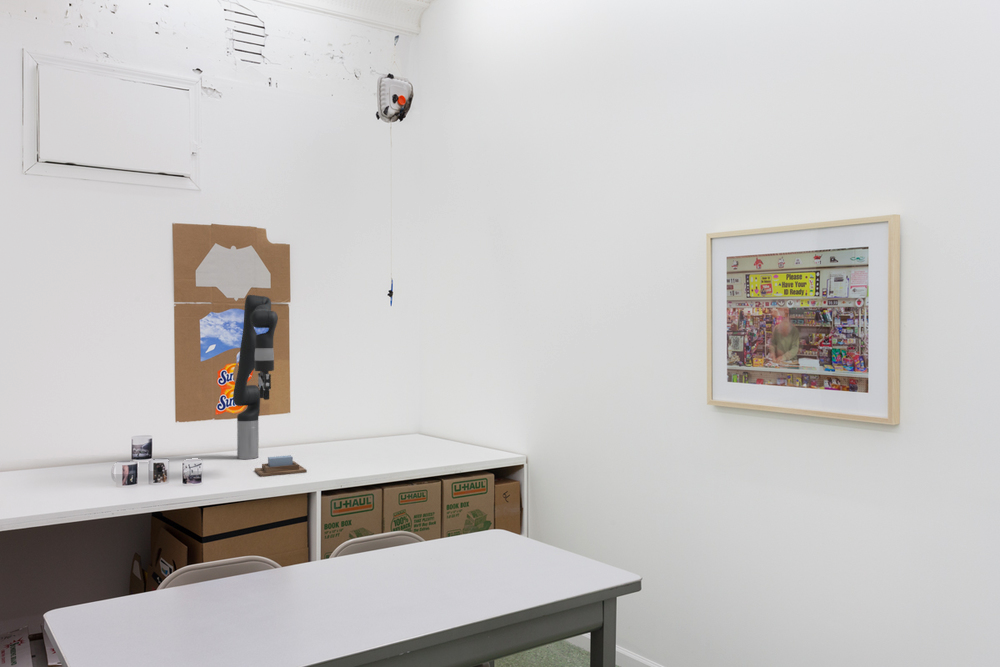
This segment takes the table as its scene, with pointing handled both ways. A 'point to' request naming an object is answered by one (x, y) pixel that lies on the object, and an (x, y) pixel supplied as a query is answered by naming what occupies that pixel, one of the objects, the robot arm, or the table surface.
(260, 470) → the tray
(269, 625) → the table surface
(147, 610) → the table surface
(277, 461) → the bar
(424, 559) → the table surface
